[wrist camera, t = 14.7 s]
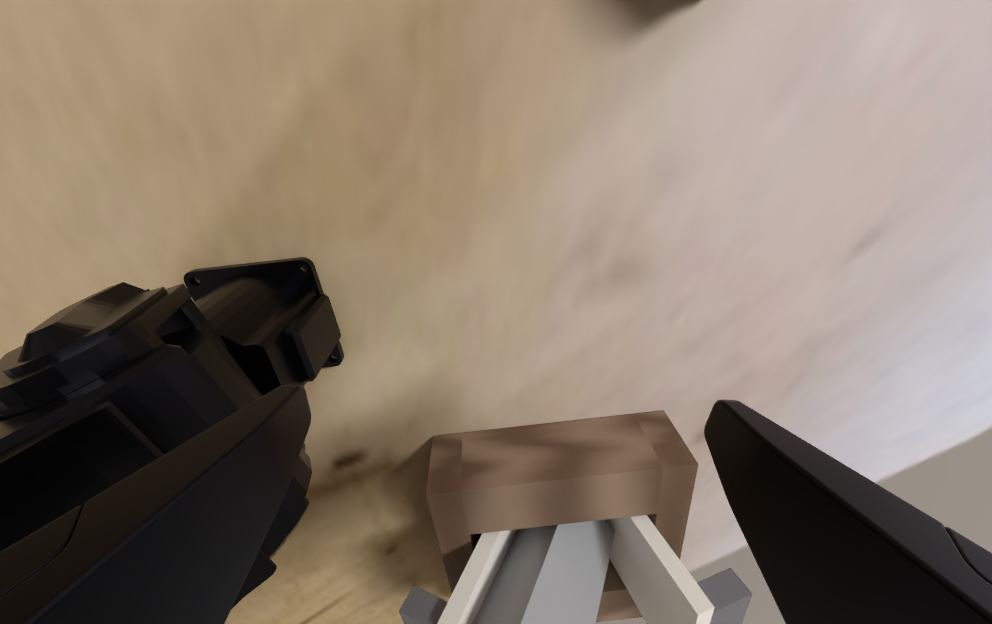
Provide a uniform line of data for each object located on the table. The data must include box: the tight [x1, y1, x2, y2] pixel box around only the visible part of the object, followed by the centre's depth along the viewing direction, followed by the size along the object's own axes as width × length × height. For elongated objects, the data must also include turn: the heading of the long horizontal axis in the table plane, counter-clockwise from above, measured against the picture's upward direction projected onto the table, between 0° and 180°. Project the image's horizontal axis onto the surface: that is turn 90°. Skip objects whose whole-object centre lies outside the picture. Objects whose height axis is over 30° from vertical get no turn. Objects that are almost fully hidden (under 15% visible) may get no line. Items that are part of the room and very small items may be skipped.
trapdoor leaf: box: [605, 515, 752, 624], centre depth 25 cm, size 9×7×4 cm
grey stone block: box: [473, 520, 615, 624], centre depth 23 cm, size 4×4×12 cm
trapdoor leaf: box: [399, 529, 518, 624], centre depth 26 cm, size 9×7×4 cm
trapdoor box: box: [426, 411, 698, 622], centre depth 28 cm, size 16×16×4 cm
